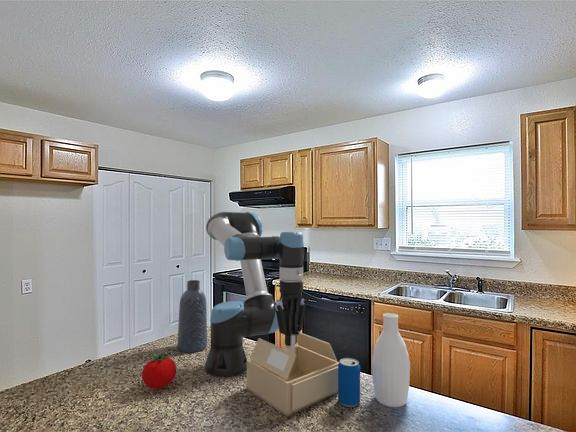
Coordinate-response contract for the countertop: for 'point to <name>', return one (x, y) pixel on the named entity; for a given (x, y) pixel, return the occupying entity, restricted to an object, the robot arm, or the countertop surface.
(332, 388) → the carton
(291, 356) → the flap
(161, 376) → the tomato
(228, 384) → the countertop surface
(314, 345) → the flap
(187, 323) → the vase
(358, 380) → the beverage can
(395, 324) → the bottle
